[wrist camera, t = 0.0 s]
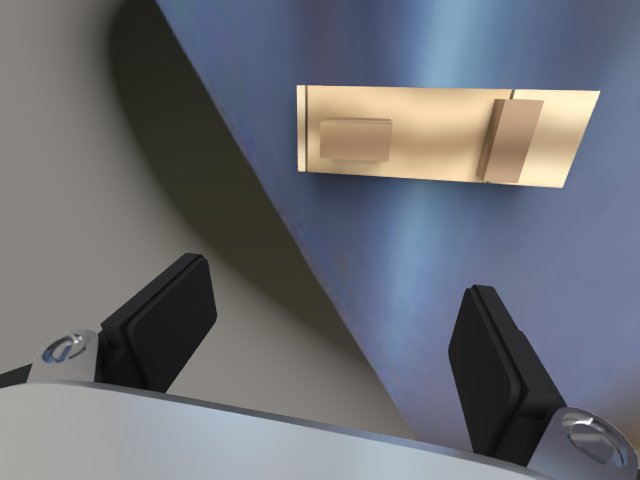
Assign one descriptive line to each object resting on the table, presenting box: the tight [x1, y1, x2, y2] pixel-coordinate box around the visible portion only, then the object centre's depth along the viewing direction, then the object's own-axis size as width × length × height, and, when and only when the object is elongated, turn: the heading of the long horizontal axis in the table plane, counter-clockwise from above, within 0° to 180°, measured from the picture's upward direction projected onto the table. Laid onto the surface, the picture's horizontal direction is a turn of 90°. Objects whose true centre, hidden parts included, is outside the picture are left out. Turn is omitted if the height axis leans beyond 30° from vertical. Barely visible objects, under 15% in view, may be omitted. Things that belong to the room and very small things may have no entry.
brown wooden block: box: [476, 99, 544, 183], centre depth 28 cm, size 7×3×2 cm, turn 179°
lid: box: [308, 86, 512, 183], centre depth 28 cm, size 9×19×7 cm, turn 89°
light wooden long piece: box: [297, 85, 600, 188], centre depth 33 cm, size 9×27×7 cm, turn 89°
